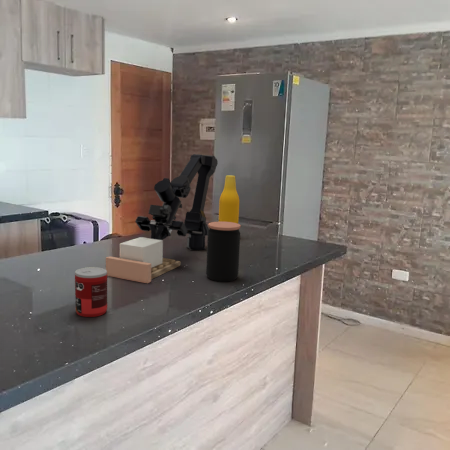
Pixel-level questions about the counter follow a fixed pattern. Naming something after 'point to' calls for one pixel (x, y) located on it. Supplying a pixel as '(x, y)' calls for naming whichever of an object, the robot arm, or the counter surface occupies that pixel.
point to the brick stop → (128, 269)
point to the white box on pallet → (143, 250)
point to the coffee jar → (223, 251)
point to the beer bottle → (229, 202)
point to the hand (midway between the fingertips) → (151, 245)
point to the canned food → (91, 291)
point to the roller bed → (164, 267)
